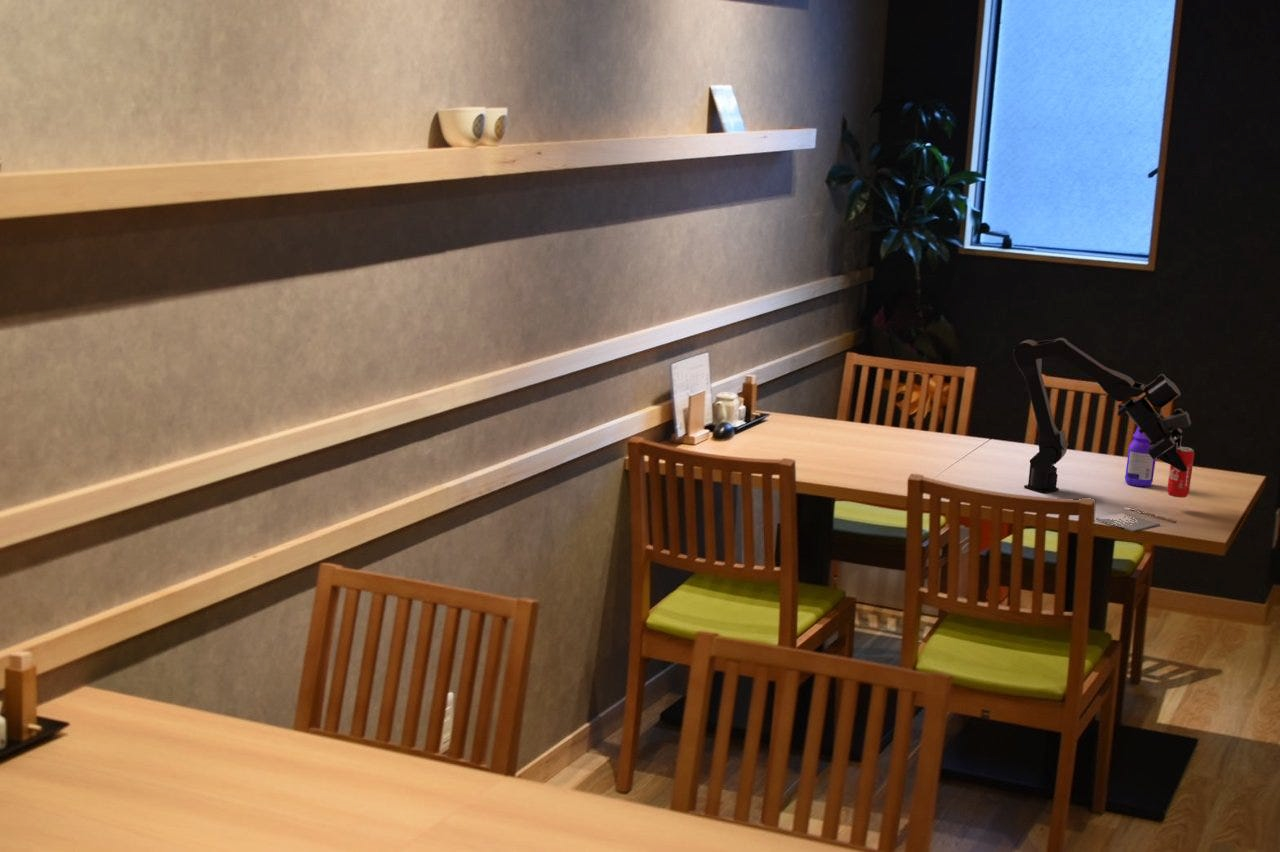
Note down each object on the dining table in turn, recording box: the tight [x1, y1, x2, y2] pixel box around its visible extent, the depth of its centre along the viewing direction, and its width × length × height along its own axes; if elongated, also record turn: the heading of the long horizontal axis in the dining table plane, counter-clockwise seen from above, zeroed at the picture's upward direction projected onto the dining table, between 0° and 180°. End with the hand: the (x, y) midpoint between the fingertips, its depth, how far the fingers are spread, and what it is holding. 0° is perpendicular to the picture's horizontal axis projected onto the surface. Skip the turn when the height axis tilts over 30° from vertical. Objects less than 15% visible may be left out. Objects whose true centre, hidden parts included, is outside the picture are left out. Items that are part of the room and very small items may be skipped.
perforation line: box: [1128, 506, 1177, 524], centre depth 376 cm, size 14×1×1 cm, turn 38°
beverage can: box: [1166, 446, 1195, 499], centre depth 381 cm, size 5×5×12 cm
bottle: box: [1124, 426, 1157, 488], centre depth 404 cm, size 7×6×17 cm
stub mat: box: [1095, 513, 1161, 533], centre depth 369 cm, size 11×11×1 cm
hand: (1187, 468), depth 380 cm, fingers closed on beverage can, 5 cm apart
